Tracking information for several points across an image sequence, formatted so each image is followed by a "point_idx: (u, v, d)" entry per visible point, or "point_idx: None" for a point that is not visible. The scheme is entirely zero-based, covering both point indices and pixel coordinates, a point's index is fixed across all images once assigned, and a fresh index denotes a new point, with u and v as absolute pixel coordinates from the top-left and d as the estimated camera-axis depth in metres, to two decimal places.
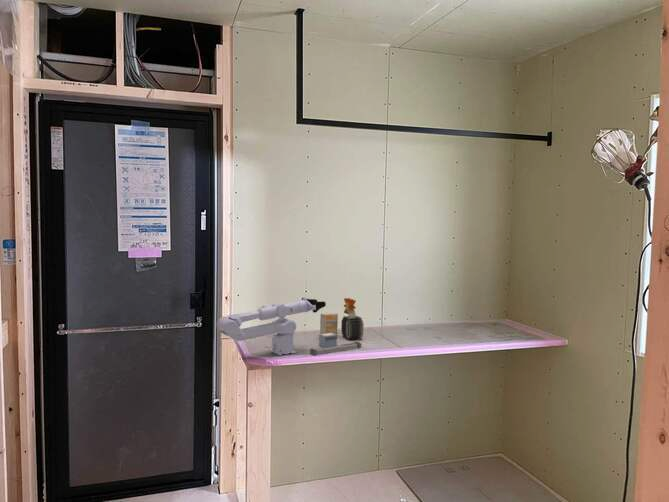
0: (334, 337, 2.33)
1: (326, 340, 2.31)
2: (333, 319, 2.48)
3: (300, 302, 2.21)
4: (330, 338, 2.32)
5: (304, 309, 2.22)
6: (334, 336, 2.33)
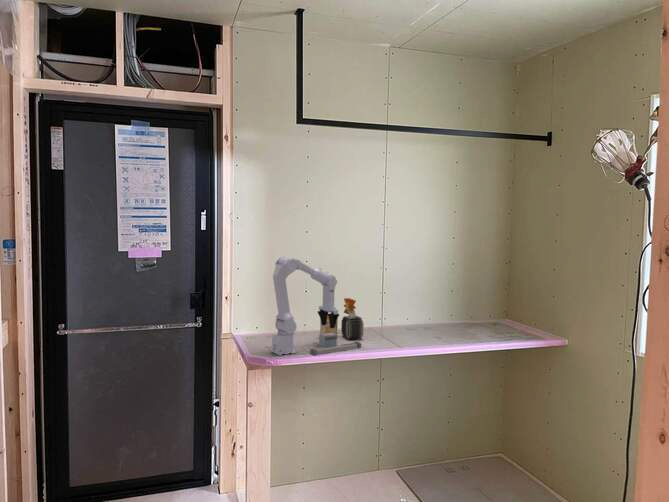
0: (334, 337, 2.33)
1: (326, 340, 2.31)
2: None
3: None
4: (330, 338, 2.32)
5: (329, 305, 2.31)
6: (334, 336, 2.33)
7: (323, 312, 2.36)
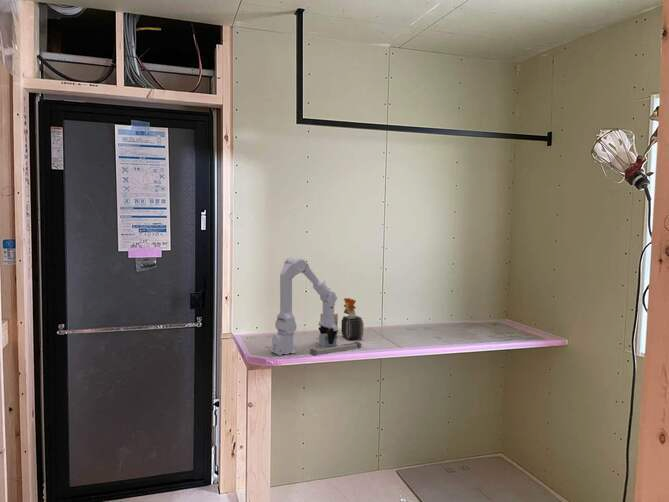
0: None
1: (326, 340, 2.31)
2: None
3: (333, 318, 2.33)
4: None
5: (329, 322, 2.31)
6: None
7: (324, 328, 2.36)
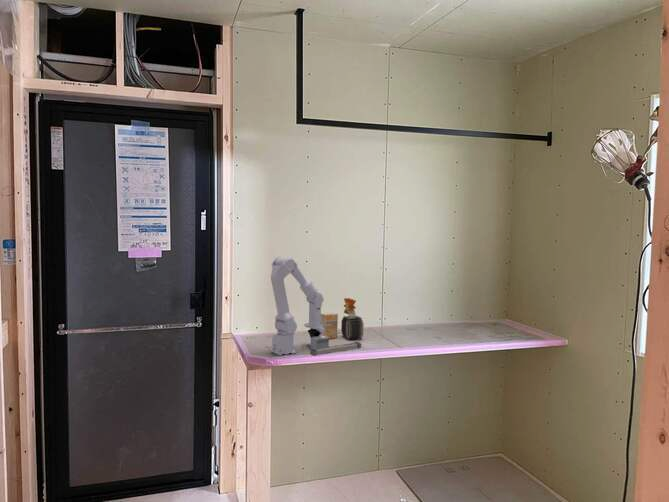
0: (326, 340, 2.27)
1: (318, 343, 2.24)
2: (333, 319, 2.48)
3: (320, 319, 2.30)
4: (321, 341, 2.25)
5: (315, 323, 2.28)
6: (326, 339, 2.27)
7: None
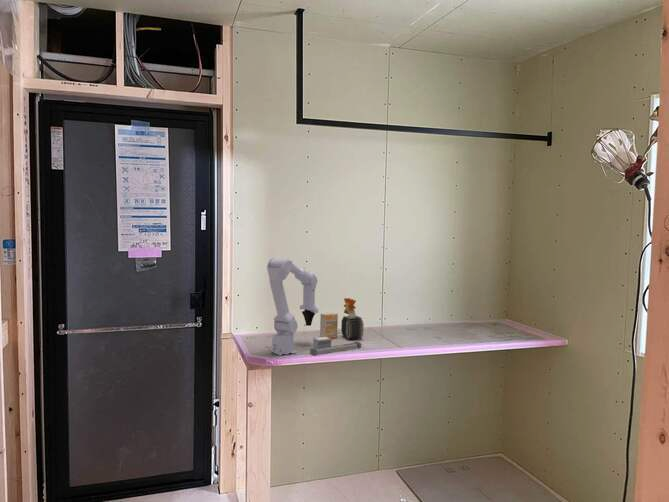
0: (328, 341, 2.24)
1: (320, 344, 2.22)
2: (333, 319, 2.48)
3: (314, 301, 2.35)
4: (324, 342, 2.23)
5: (309, 304, 2.32)
6: (328, 340, 2.24)
7: None
